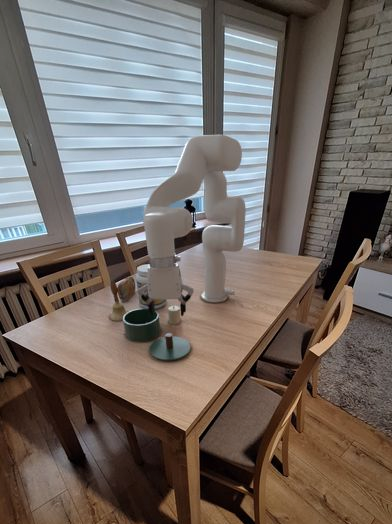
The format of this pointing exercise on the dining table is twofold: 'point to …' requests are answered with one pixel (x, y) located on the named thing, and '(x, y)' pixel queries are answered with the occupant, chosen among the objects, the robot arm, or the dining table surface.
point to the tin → (126, 288)
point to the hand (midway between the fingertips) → (167, 313)
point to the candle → (174, 314)
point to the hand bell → (117, 304)
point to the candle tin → (141, 325)
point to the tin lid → (169, 348)
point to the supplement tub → (142, 281)
